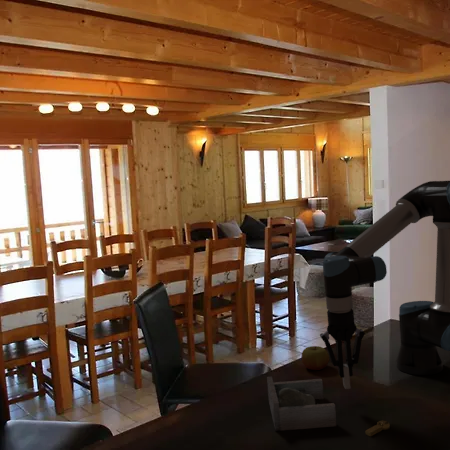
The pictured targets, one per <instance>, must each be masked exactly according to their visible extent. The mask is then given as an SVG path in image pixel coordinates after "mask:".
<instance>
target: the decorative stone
mask: <svg viewBox="0 0 450 450" xmlns="http://www.w3.org/2000/svg"><path fill="white" fill-rule="evenodd" d="M304 405H316V400H314V397H313V396H312V395H311V394H303V393H301V392H299V391H298V390H295V389H292V388H283V389H281V390H280V391H279V407H291V406H304Z"/></svg>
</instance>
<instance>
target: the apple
mask: <svg viewBox="0 0 450 450" xmlns="http://www.w3.org/2000/svg"><path fill="white" fill-rule="evenodd" d="M329 361H330V356H329V354H328V351H327V349H326V348H324V347H322V346H317V345H312V346H308V347H305V348H304V349H303V351H302V352H301V363H302V365H303V366H304V367H305V368H306V369H308V370H310V371H320V370H323V369H325V368H326V367H327V366H328V364H329Z"/></svg>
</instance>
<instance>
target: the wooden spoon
mask: <svg viewBox="0 0 450 450" xmlns="http://www.w3.org/2000/svg"><path fill="white" fill-rule="evenodd" d="M388 430H390V422H389V421H387V420H378V421H377V423H376V425H373V426H371V427H370V428H368V429H366V430H365V435H367V436H368V437H372V436H374V435H376V434H378V433H380V432H382V431H388Z"/></svg>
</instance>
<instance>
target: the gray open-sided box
mask: <svg viewBox="0 0 450 450" xmlns="http://www.w3.org/2000/svg"><path fill="white" fill-rule="evenodd" d="M266 380H267V395H268V403H269V408H270V413H271V416H272V417H271V418H272V421H273V426H274V431H275V432H278V431H280V432H281V431H292V430H304V429H306V430H307V429H317V428H330V427H337V415H336V404H335V403H334V402H332V403H317V404H316V403H315V405H304V406H291V407H279V391H280V390H281V389H283V388H292V389H295V390H298V391H299V392H301V393H303V394H311V395H312V396H313V397H314V400H315V399H319V400H324V399H325V398H324V383H323V379H322V378H315V379H314V378H313V379H303V380H290V381H287V380H286V381H277V382H274V380H273V376H267V377H266ZM315 401H316V400H315Z"/></svg>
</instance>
